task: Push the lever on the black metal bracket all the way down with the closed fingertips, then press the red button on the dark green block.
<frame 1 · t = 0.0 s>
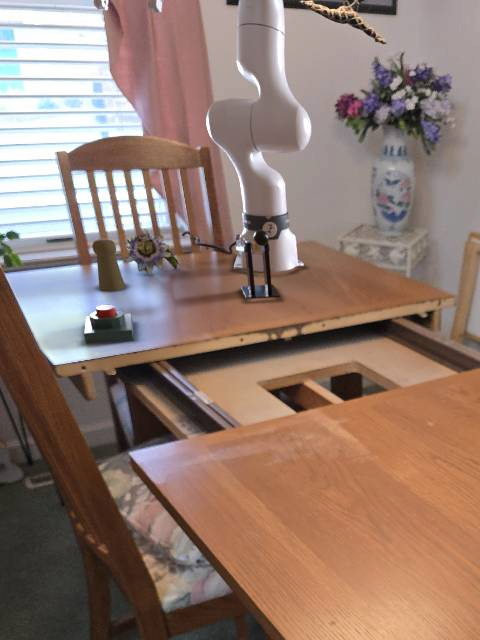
hand: (127, 9, 114), 54 cm above the table, tool tilted 30°, fingers open, 8 cm apart
cork: (112, 288, 172), on the table
black two-post stand: (260, 296, 171), on the table
button: (105, 311, 144), point 5 cm above the table, slide at 0.2 cm
lever: (258, 243, 160), point 13 cm above the table, hinge at 25.0°
passion flower: (153, 271, 186), on the table
button block: (110, 333, 146), on the table
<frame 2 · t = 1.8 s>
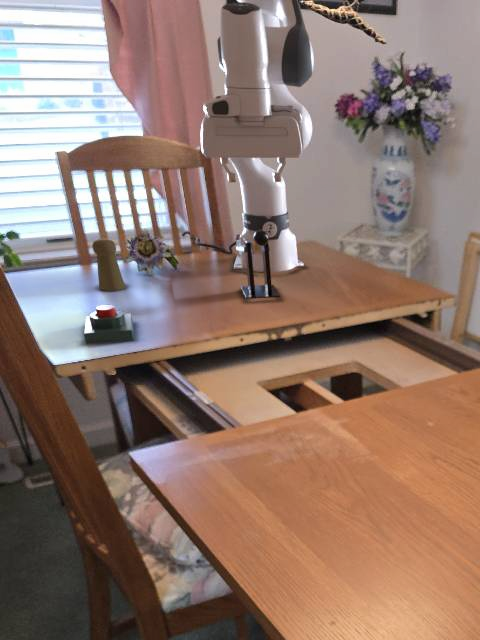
hand: (254, 181, 148), 26 cm above the table, tool pointing down, fingers open, 8 cm apart
nothing on the table moved.
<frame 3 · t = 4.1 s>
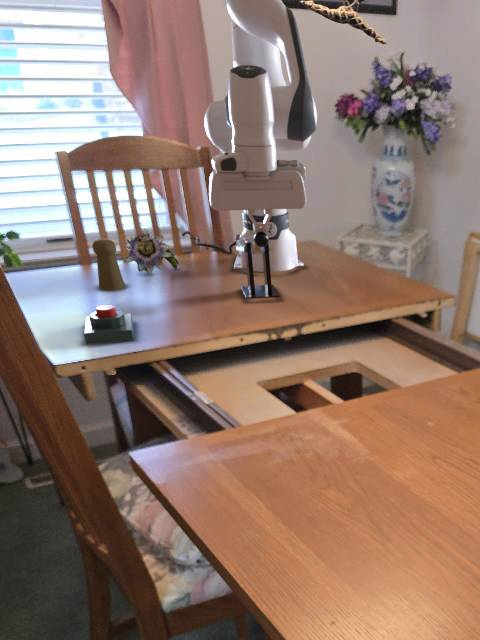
hand: (260, 231, 154), 17 cm above the table, tool pointing down, fingers closed, pressing on lever
lever: (259, 243, 160), point 13 cm above the table, hinge at 23.4°, touching gripper
everything else where it was.
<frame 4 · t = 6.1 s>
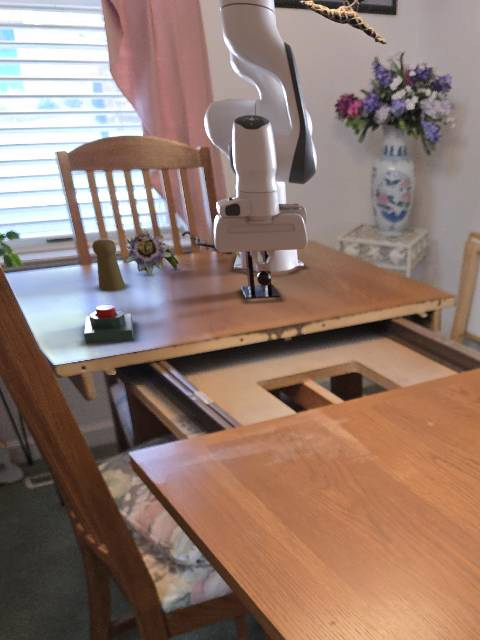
hand: (263, 271, 159), 8 cm above the table, tool pointing down, fingers closed, pressing on lever
lever: (260, 263, 162), point 9 cm above the table, hinge at -27.0°, touching gripper
everything else where it was.
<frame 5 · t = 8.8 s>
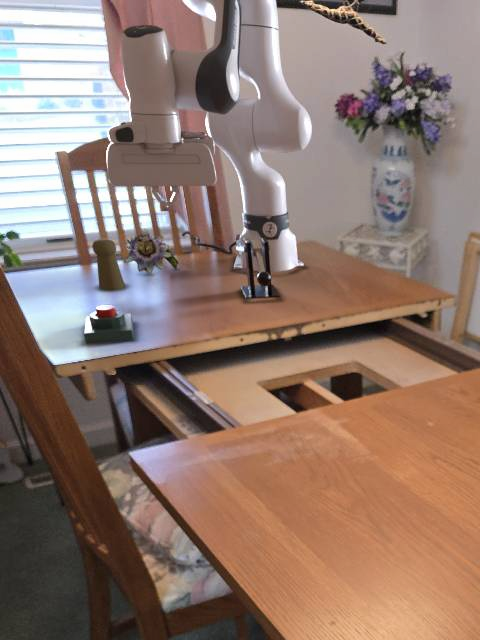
hand: (167, 211, 141), 22 cm above the table, tool pointing down, fingers closed
lever: (260, 263, 162), point 9 cm above the table, hinge at -27.5°
everything else where it was.
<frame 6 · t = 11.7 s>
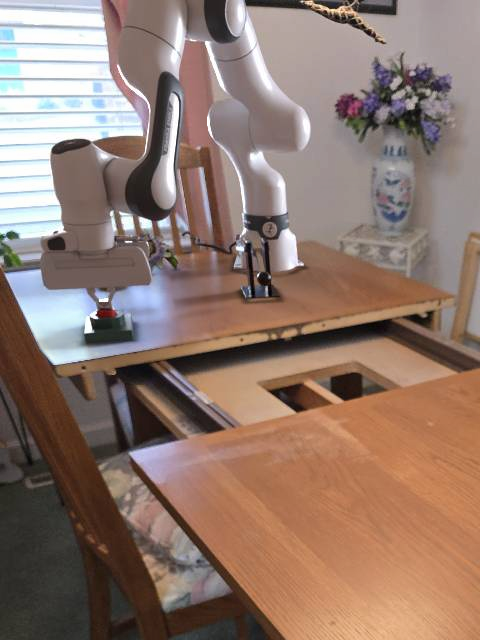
hand: (105, 309, 143), 5 cm above the table, tool pointing down, fingers closed, pressing on button
button: (106, 313, 144), point 4 cm above the table, slide at -0.2 cm, touching gripper
everything else where it was.
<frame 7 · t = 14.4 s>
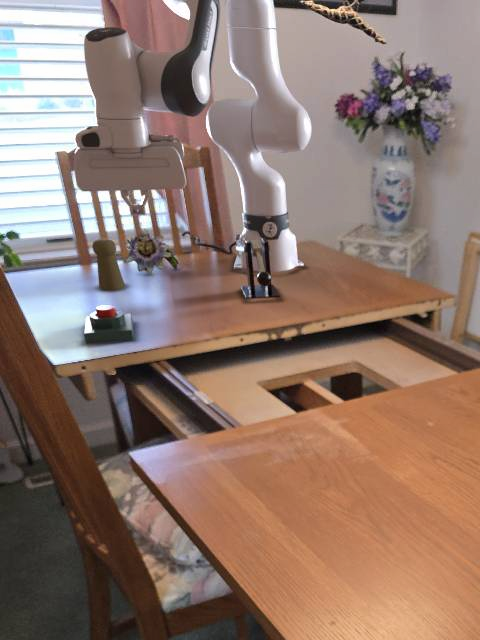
hand: (138, 214, 140), 22 cm above the table, tool pointing down, fingers closed
button: (106, 311, 144), point 5 cm above the table, slide at 0.1 cm
everything else where it was.
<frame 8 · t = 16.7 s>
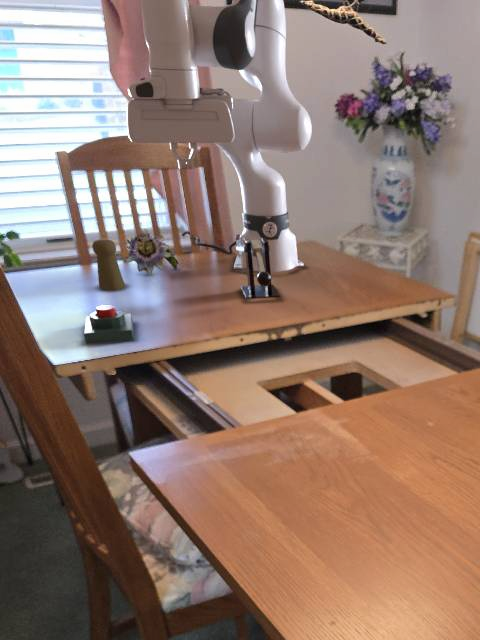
hand: (186, 168, 142), 29 cm above the table, tool pointing down, fingers closed
nothing on the table moved.
at the end: lever at -28° (first picture: +25°); button pushed in 1.0 cm at the most during the clip, back to where it started at the end; button slide at 0.1 cm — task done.
